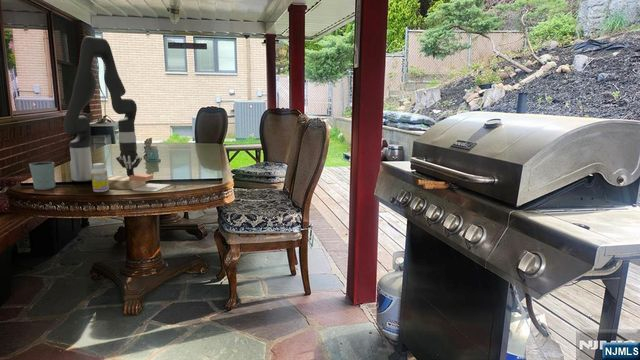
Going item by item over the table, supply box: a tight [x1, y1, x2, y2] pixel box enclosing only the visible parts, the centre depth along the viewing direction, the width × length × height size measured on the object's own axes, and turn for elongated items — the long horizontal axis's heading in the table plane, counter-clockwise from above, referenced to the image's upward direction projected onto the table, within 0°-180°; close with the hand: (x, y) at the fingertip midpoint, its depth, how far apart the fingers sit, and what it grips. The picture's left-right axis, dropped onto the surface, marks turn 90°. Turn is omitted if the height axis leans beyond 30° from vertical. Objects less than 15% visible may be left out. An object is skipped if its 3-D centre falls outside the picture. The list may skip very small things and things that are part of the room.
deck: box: [107, 174, 147, 190], centre depth 208 cm, size 20×10×4 cm, turn 81°
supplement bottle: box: [91, 162, 110, 193], centre depth 197 cm, size 7×7×13 cm
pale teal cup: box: [29, 161, 56, 191], centre depth 202 cm, size 10×10×12 cm
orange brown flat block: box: [129, 173, 154, 182], centre depth 205 cm, size 9×6×2 cm, turn 77°
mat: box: [132, 183, 171, 192], centre depth 206 cm, size 12×14×1 cm
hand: (130, 176), depth 206 cm, fingers closed
